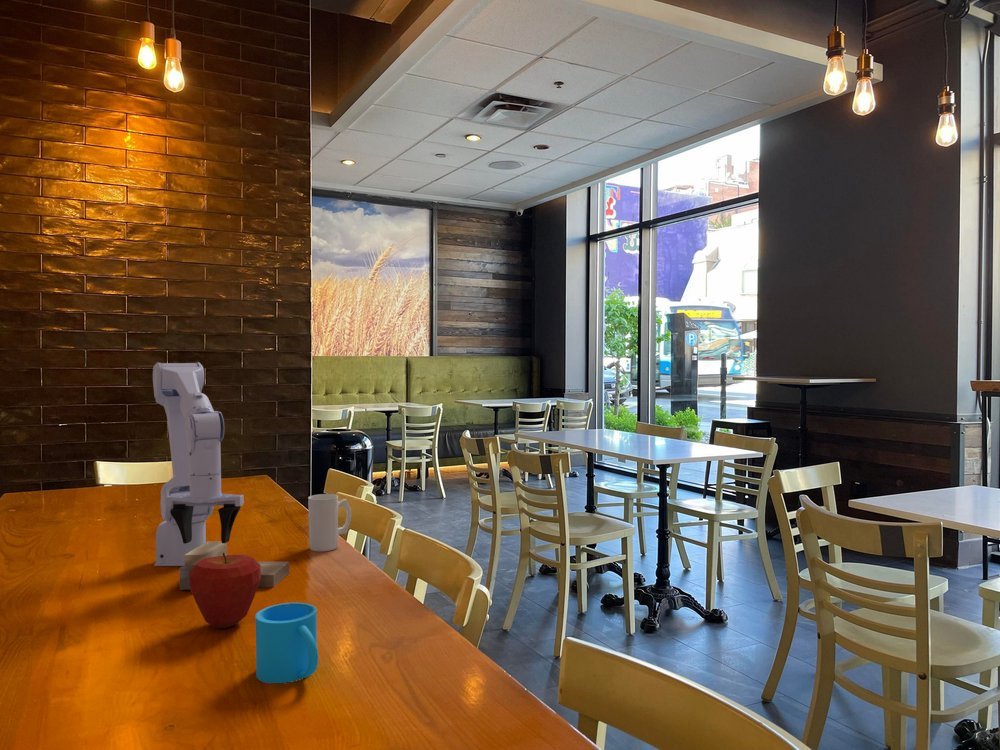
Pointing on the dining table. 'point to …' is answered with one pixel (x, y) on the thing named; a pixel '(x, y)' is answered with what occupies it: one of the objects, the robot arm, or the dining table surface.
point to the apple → (224, 588)
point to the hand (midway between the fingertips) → (206, 542)
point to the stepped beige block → (199, 559)
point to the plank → (272, 573)
